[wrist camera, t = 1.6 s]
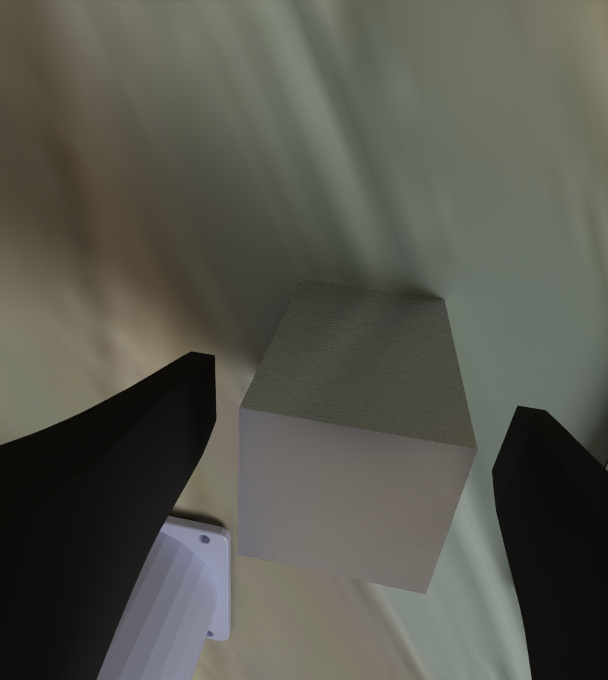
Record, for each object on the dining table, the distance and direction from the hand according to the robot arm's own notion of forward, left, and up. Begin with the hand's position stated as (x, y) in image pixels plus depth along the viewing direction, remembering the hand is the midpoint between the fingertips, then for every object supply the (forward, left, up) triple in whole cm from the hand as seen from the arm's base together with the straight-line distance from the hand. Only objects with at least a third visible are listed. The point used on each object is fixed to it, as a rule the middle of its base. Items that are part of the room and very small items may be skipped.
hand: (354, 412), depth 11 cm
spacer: (0, 0, -3) cm, 3 cm away
